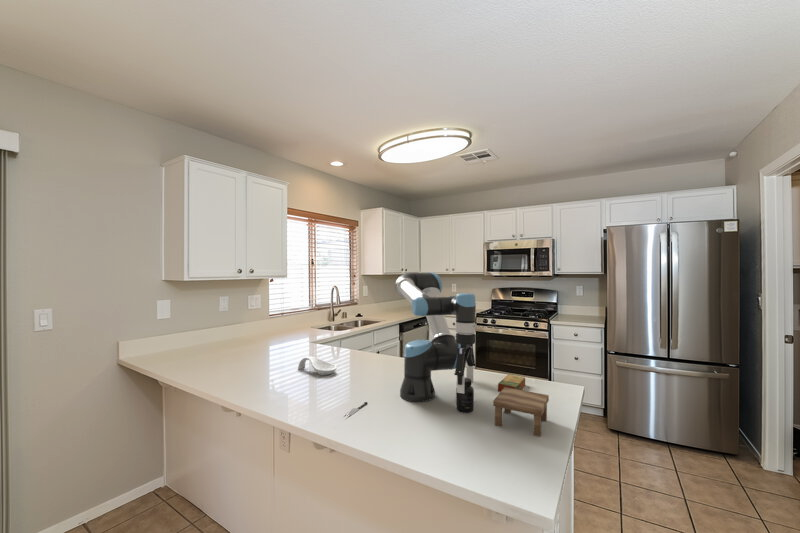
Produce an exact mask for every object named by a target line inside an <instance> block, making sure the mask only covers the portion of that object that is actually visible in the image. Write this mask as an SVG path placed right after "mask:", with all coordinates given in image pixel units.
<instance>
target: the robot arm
mask: <svg viewBox="0 0 800 533" xmlns="http://www.w3.org/2000/svg"><path fill="white" fill-rule="evenodd" d="M442 284H443V283H442V280H441V277H440V275H438V274H437V273H435V272H406V273H403V274H401V275H400V276H399V277H398V278H397V279H396V280H395V283H394V287H395V288H394V289H395V292H396V293H397V294H398V295H399V296H400V297H404V299H406V300H407V301H408V302H409V304H410V305H411V311H412V312H411V313H412V315H413V316H416V317H417V316H419V317H426V320H427V324H428V327H429V330H430V334H431V338H432V340H429V339H414V340H411V341H409V342H407V344H405V346H404V354H403V356H404V357H403V358H404V359H403V360H404V364H403V365H404V366H403V368H404V369H403V370H404V371H403V372H404V373H403V374H404V375H403V379H402V380H403V381H402V383H401V386H400V390H399V395H400V397H401V398H402V399H403V400H406V401H409V402H416V403H417V402H418V403H422V402H428V401H431V400H433V399H435V396H436V390H435V387H434V384H433V380H432V372H433V371H443V370H445V371H446V370H447V371H448V370H449V371H450V370H454V376H456V388H457V393H463V394H464V377H466V378H469V379H471V383H472V384H474V367H476V360H475V353H474V344H476V328H477V325H476V311H477V310H476V306H477V305H476V304H477V303H476V295H475V294H474V293H467V292H466V293H465V292H462V293H457V294H456V295H455V296H454V295H453V296H452V295H449V296H440V295H441V293H442V289H443V285H442ZM445 316H455V332H456V334H455V335H453V334H451V332H450V329H449V326H448V323H447V319H446V317H445ZM466 362H467V363H466ZM465 369H466V376H465Z"/></svg>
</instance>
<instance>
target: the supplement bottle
mask: <svg viewBox="0 0 800 533" xmlns="http://www.w3.org/2000/svg"><path fill="white" fill-rule="evenodd" d="M472 384H473V383H471V379H469V378H464V394H463V393H457V387H456V388H455V389H456V391H455V395H456V396H455V402H456V403H455V404H456V405H455V408H456V411H457V412H459V413H462V414H471V413H473V412H474V411H475V410H474V409H475V407H474V406H475V402H474V401H475V389H474V387H473V385H472Z"/></svg>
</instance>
